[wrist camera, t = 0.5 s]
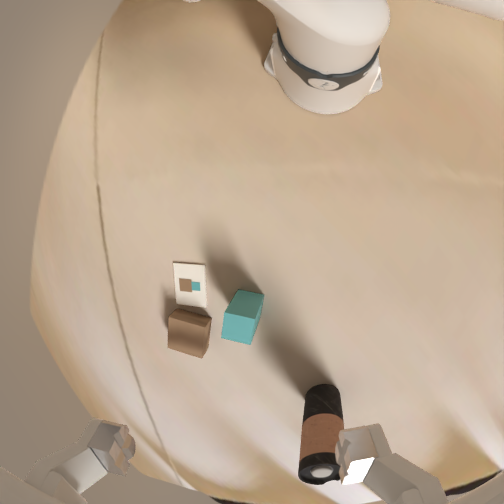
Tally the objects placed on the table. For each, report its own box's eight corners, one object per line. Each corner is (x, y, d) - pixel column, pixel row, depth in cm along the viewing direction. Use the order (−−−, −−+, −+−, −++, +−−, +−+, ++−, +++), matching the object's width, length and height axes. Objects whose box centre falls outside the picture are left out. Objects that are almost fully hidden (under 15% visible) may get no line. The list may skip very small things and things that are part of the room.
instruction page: (173, 262, 50) (172, 263, 50) (205, 264, 49) (204, 265, 49) (177, 303, 52) (176, 304, 52) (207, 307, 51) (206, 307, 51)
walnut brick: (177, 307, 53) (168, 316, 49) (212, 317, 52) (205, 327, 48) (176, 337, 55) (167, 347, 51) (208, 347, 54) (201, 358, 50)
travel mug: (311, 379, 51) (306, 460, 32) (346, 386, 50) (354, 465, 31) (299, 405, 54) (291, 481, 35) (333, 411, 53) (334, 486, 34)
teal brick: (238, 289, 49) (224, 312, 41) (264, 294, 49) (255, 319, 40) (235, 312, 50) (221, 337, 42) (260, 317, 50) (250, 344, 41)
